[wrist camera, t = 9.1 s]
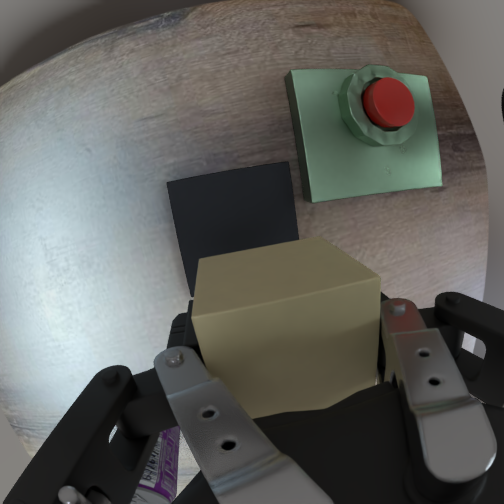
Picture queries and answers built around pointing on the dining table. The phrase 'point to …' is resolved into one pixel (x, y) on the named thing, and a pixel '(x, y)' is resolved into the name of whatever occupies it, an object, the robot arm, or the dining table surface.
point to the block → (288, 325)
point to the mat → (232, 212)
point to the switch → (388, 103)
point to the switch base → (359, 135)
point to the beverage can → (160, 471)
